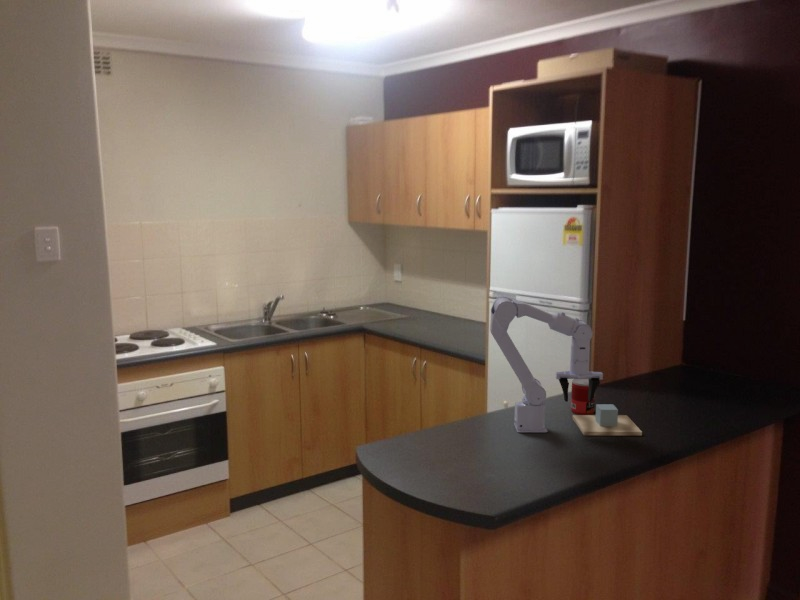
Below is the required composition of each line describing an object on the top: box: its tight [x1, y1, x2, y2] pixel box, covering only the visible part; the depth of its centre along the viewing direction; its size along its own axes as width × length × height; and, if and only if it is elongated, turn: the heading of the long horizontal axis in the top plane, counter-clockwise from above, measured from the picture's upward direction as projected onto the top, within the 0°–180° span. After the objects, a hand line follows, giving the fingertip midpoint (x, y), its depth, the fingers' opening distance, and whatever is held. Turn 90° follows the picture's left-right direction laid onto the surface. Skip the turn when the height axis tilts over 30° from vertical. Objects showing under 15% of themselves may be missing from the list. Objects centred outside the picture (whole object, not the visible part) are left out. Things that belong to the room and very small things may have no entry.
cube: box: [595, 403, 619, 426], centre depth 229 cm, size 6×6×6 cm
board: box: [572, 414, 643, 437], centre depth 230 cm, size 18×16×1 cm
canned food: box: [570, 379, 596, 415], centre depth 244 cm, size 8×8×11 cm
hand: (578, 400), depth 227 cm, fingers open, 7 cm apart
